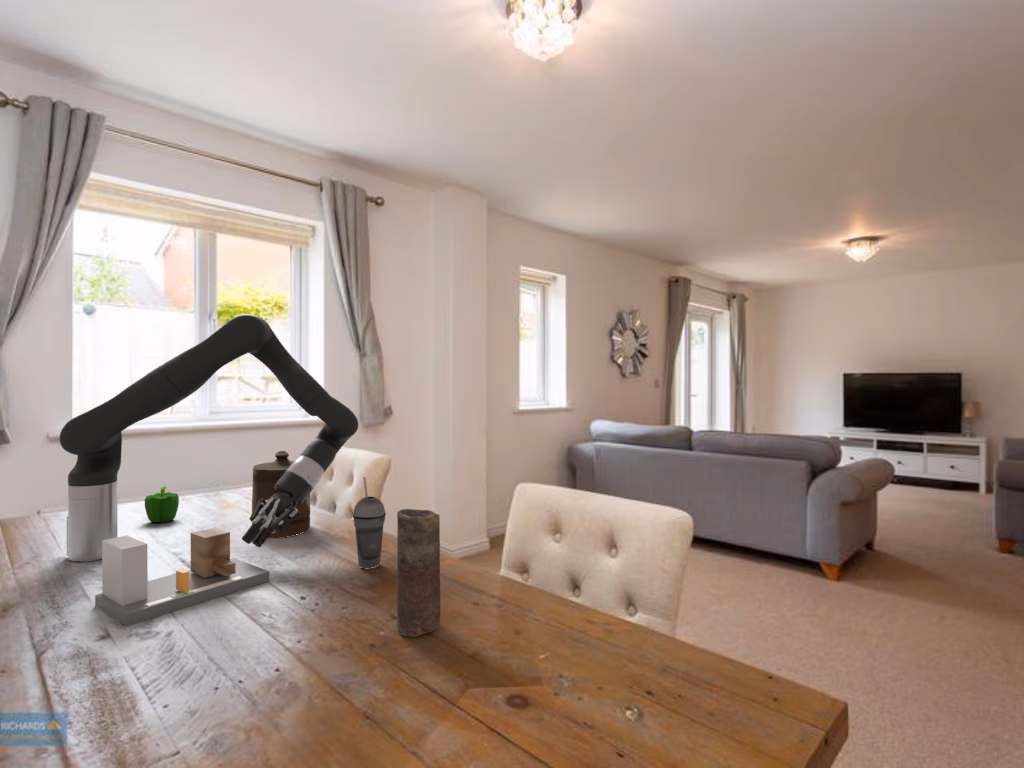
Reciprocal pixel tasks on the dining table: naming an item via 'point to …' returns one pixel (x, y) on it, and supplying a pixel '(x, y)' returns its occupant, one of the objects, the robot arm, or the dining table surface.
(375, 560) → the beverage cup
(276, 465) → the wooden container
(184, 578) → the pointer
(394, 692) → the dining table surface
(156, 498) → the bell pepper
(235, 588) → the gauge base
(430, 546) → the rough stone vase
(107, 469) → the robot arm
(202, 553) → the brown block
